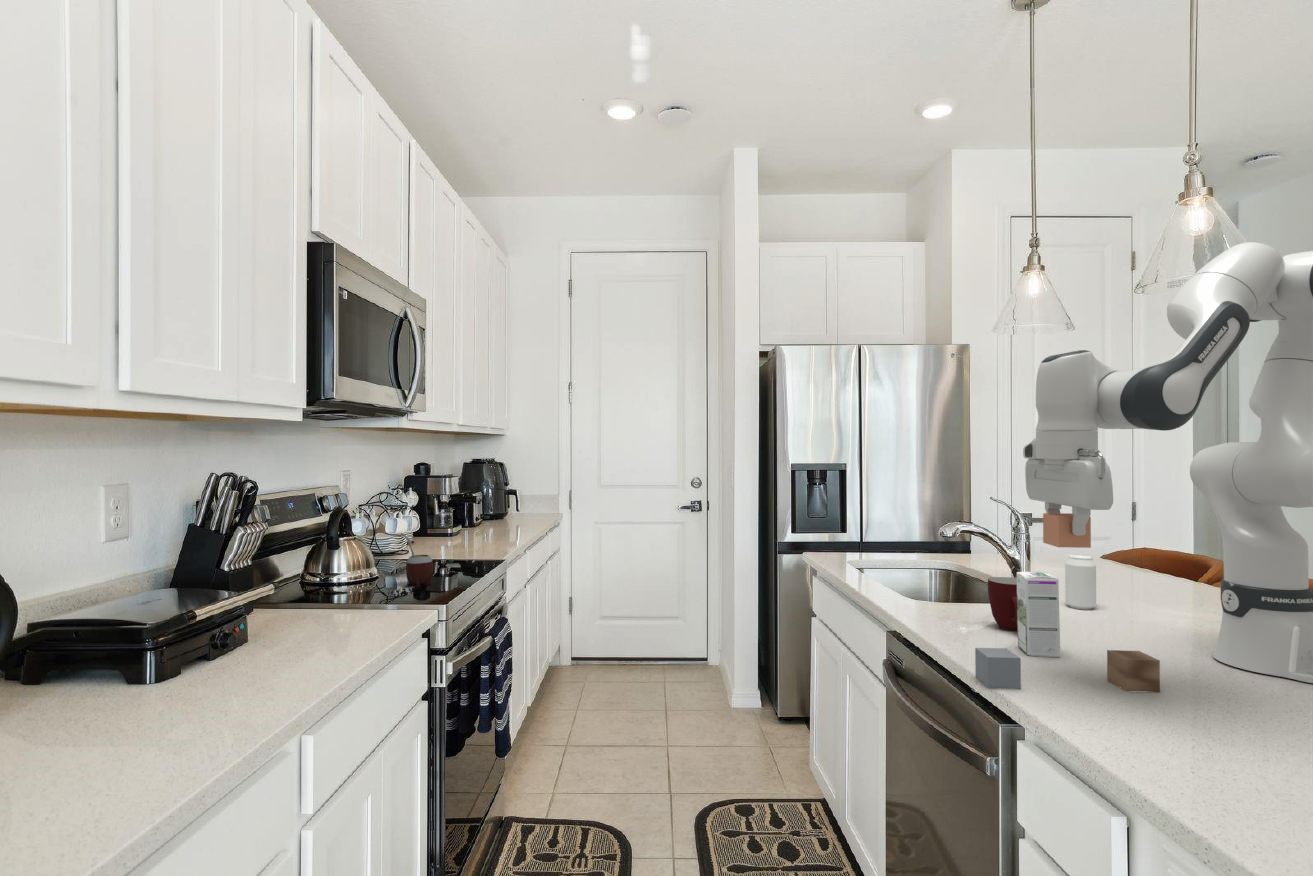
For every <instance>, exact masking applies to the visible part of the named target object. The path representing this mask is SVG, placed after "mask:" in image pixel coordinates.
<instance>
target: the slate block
mask: <svg viewBox="0 0 1313 876" xmlns="http://www.w3.org/2000/svg"><path fill="white" fill-rule="evenodd" d="M974 650H975V651H974V653H975V655H974V656H975V658H974V659H975V661H974V662H975V663H974V664H975V665H974V667H975V671H974V672H975V678H976V679H977V681H979V682H980V683H981V684H982V685H984V687H986V688H987V689H996V690H997V689H999V690H1000V689H1001V690H1002V689H1003V690H1022V687H1021V686H1022V681H1021V679H1022V678H1021V677H1022V673H1021V672H1022V671H1021V666H1022V664H1021V663H1022V662H1021V657H1020V656H1019V655H1017V654H1015V653H1014V652H1013V651H1011V650H1009V649H1008V648H1005V647H1002V648H1001V647H975V649H974Z"/></svg>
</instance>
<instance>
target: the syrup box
mask: <svg viewBox="0 0 1313 876" xmlns="http://www.w3.org/2000/svg"><path fill="white" fill-rule="evenodd" d="M1016 578H1017V625H1018V631H1017V647H1018V648H1019V649H1020V650H1021V651H1022V652H1024V653H1025V655H1027V656H1032V657H1041V658H1060V657H1061V629H1060V628H1061V627H1060V626H1061V624H1060V623H1061V622H1060V596H1059V595H1060V590H1059V589H1060V587H1059V586H1060V585H1059V578H1058V577H1055V575H1052V574H1050V573H1048V572H1043V571H1016Z"/></svg>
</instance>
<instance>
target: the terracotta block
mask: <svg viewBox="0 0 1313 876" xmlns="http://www.w3.org/2000/svg"><path fill="white" fill-rule="evenodd" d="M1073 517H1074V514H1073V513H1072V512H1071V513H1065V512H1064V513H1063V512H1060V513H1046V512H1044V513H1042V523H1043V524H1042V525H1043V526H1042V527H1043V528H1042V543H1043V544H1047V545H1049V546H1053V547H1056V548H1072V549H1073V548H1076V549H1077V548H1080V549H1081V548H1084V549H1086V548H1087V549H1089V548H1090V549H1091V548H1092V539H1091V538H1092V535H1091V534H1092V531H1091V529H1092V528H1091V527H1092V521H1091V520H1092V519H1091V518H1092V517H1091V516H1090V517H1089V519H1088V521H1087V524H1086V534H1085V535H1083V536H1077V535H1073V534H1071V533H1070V532H1069V530H1070V528H1069V523H1072V521H1073Z"/></svg>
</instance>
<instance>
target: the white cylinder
mask: <svg viewBox="0 0 1313 876" xmlns="http://www.w3.org/2000/svg"><path fill="white" fill-rule="evenodd" d="M1067 557H1068V558H1067V559H1066V560H1065V562H1064V568H1065V569H1064V583H1065V585H1064V588H1065V594H1064V595H1065V597H1064V599H1065V604H1067V605H1068V606H1069V607H1070V608H1073V609H1077V610H1084V611H1085V610H1086V611H1087V610H1092V609H1093V608H1095V607H1096V606H1097V564H1096V562H1095V561H1094V559H1093V557H1092V556H1089V555H1084V554H1083V555H1082V554H1081V555H1080V554H1069V555H1068V556H1067Z"/></svg>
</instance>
